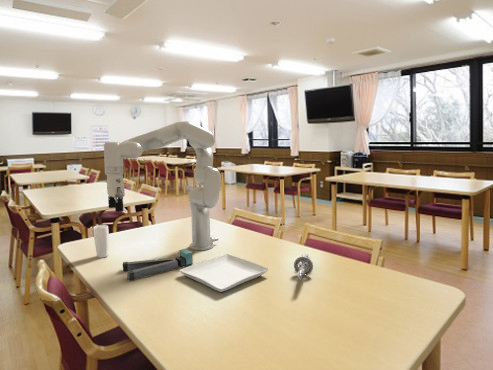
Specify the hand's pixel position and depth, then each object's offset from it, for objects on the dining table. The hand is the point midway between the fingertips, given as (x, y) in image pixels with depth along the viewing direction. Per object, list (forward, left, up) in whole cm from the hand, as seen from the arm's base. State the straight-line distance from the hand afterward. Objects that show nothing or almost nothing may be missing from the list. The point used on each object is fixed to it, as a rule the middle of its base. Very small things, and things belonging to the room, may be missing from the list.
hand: (115, 209), depth 153 cm
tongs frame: (-13, +16, -26) cm, 33 cm away
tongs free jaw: (-10, +10, -26) cm, 29 cm away
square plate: (-31, +39, -27) cm, 56 cm away
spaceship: (-57, +58, -27) cm, 86 cm away
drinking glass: (+2, -19, -26) cm, 33 cm away
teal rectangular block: (-25, +16, -25) cm, 39 cm away
